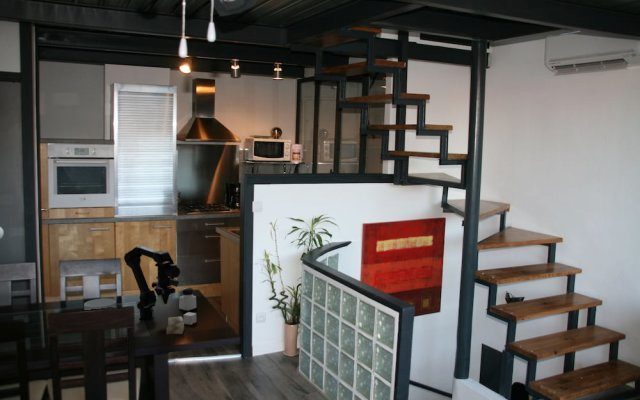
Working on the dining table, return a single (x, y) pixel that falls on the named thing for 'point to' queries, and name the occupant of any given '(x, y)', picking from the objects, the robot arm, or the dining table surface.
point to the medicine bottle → (187, 299)
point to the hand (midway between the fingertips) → (163, 302)
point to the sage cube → (160, 301)
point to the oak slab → (175, 330)
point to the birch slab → (175, 322)
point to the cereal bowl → (99, 304)
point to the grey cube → (189, 318)
